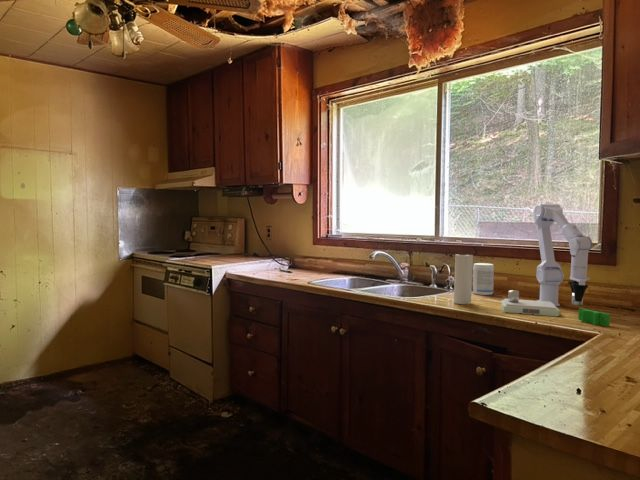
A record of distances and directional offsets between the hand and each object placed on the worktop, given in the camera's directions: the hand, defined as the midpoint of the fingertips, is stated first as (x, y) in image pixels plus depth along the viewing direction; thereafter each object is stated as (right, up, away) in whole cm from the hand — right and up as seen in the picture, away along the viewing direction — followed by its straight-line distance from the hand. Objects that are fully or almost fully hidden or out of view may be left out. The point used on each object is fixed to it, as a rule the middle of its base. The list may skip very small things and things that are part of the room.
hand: (577, 300), depth 188 cm
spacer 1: (-24, -1, +4) cm, 24 cm away
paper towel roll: (-41, -4, +16) cm, 44 cm away
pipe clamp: (-4, -6, -17) cm, 19 cm away
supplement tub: (-24, -2, +41) cm, 48 cm away
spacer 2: (0, -2, 0) cm, 2 cm away
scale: (-18, -5, +3) cm, 19 cm away
